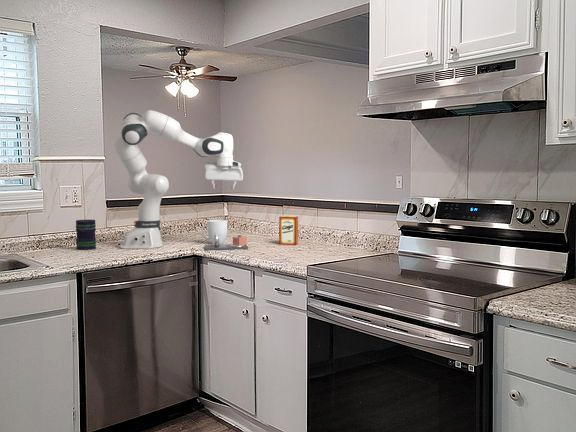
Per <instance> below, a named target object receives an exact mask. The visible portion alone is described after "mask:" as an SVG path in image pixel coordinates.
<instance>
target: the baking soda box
mask: <svg viewBox="0 0 576 432" xmlns="http://www.w3.org/2000/svg"><path fill="white" fill-rule="evenodd" d="M278 218H279V220H278V221H279V225H278V226H279V227H278V229H279V230H278V231H279V232H278V236H279V237H278V238H279V239H278V241H279V242H278V243H279V246H297V245H298V244H299V216H298V215H289V214H288V215H280V216H279V217H278Z"/></svg>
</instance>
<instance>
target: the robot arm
mask: <svg viewBox="0 0 576 432" xmlns="http://www.w3.org/2000/svg"><path fill="white" fill-rule="evenodd" d="M148 133H152V134H155V135H157V136H159V137H161V138H163V139H167V140H169V141H175V142H177V143H180V144H182V145H183V146H187V147H188V148H189V149H192V150H193V151H194V152H195V154H197V155H198V156H200V158H201V157H202V158H208V157H211V156H216V162H209V161H208V162H207V163H205V165H204V170H205V172H204V173H205V175H204V178H205V180H207V181H208V180H209V181H211V183H212V186H213V189H215V190H216V189H217V185H216V184H215V181H233V183H234V184H233V185H231V190H235V186H236V185H237V182H242V181H244V172H243V168H242V163H241V162H238V161H237V160H234V155H233V152H234V137H233V135H232V134H231V133H228V132H225V131H219V132H218V133H216V134H214V135H212V136H208V137H205V138H204V137H203V138H202V137H201V138H199V137H196V136H194V135H191V134H190V133H188V132H187V131H184V129H183V128H182V126H181V124H180V122H179V121H177V120H176V119H174V118H173V117H171V116H169V115H167V114H164V113H162V112H159V111H156V110H151V109H148V110H147V111H145V112H144V113H143V114H142V116H141V114H139V113H137V112H130V113H128V114H126V115H125V117H124V118H123V120H122V124H121V134H120V135H118V136H117V137H116V138H115V139H114V142H113V147H114V149H115V152H116V153H117V155H118V158H119V159H120V161H121V163H122V165H124V167H125V169H126V171H127V173H128V177H129V179H128V181H127V186H128V189H129V191H131V192H132V193H135V194H137V195H144V196H143V199H142V202H141V203H139V205H138V207H137V211H138V212H137V213H138V214H137V215H138V217H137V219H138V220H135V221H134V222H133V224H134V228H133V229H131V230H130V231H129V232H128V233H126V235H125V236H124V238H123V243H122V244H121V243H120V245H119V248H120V249H126V250H127V249H129V250H130V249H137V250H139V249H141V250H142V249H144V250H145V249H146V250H148V249H154V248H155V249H156V248H160V247H163V246H164V244H163V242H162V241H163V240H162V236H161V227H162V225H161V220H160V219H161V218H160V212H161V211H160V208H161V207H160V206H161V201H162V198H163V196H164V195H165V194H166V193H167V192H168V190H169V186H170V183H169V179H168V178H167V177H166V176H164V175H161V174H157V173H155V174H154V173H148V172H147V169H146V167H147V165H148V162H147V159H146V157H145V156H144V154H143V153H142V150H141V149H140V147H139V146H138V144H140V143H141V142H142V141H143V140H144V139H145V138H147V136H148Z"/></svg>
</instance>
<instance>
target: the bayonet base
mask: <svg viewBox="0 0 576 432" xmlns="http://www.w3.org/2000/svg"><path fill="white" fill-rule="evenodd" d="M204 249H205V251H233V250H234V251H236V250H235V249H244V250H249V246H248V245H242V246H237V245H233V243H231V244H221V243H219V235H214V243H213V244H204Z"/></svg>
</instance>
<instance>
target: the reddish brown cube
mask: <svg viewBox="0 0 576 432" xmlns="http://www.w3.org/2000/svg"><path fill="white" fill-rule="evenodd" d="M232 244H233V245H237V246H242V245H247V236H242V234H238V236H233V237H232ZM247 246H248V245H247Z"/></svg>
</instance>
